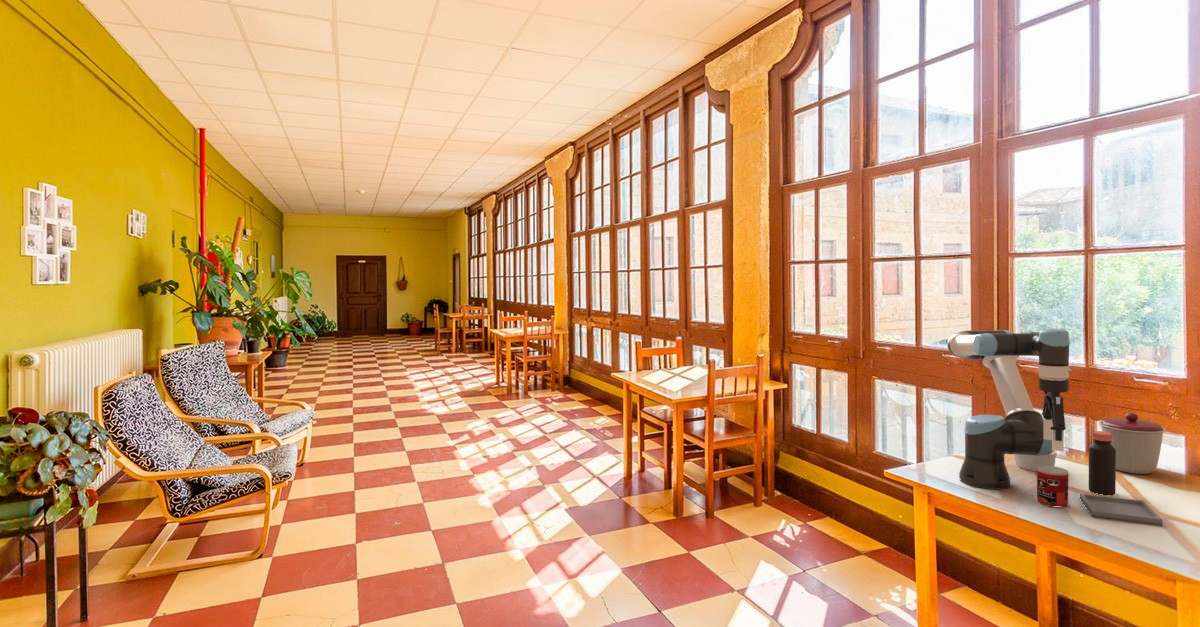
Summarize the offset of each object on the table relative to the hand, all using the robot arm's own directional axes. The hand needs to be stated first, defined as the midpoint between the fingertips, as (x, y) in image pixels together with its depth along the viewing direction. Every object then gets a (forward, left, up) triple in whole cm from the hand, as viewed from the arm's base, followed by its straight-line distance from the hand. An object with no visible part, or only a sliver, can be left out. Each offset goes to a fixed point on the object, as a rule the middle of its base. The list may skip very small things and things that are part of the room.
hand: (1053, 444), depth 186 cm
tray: (+16, -1, -19) cm, 25 cm away
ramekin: (+1, +39, -19) cm, 44 cm away
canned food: (0, 0, -19) cm, 19 cm away
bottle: (+16, +17, -19) cm, 30 cm away
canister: (+31, +48, -19) cm, 60 cm away
